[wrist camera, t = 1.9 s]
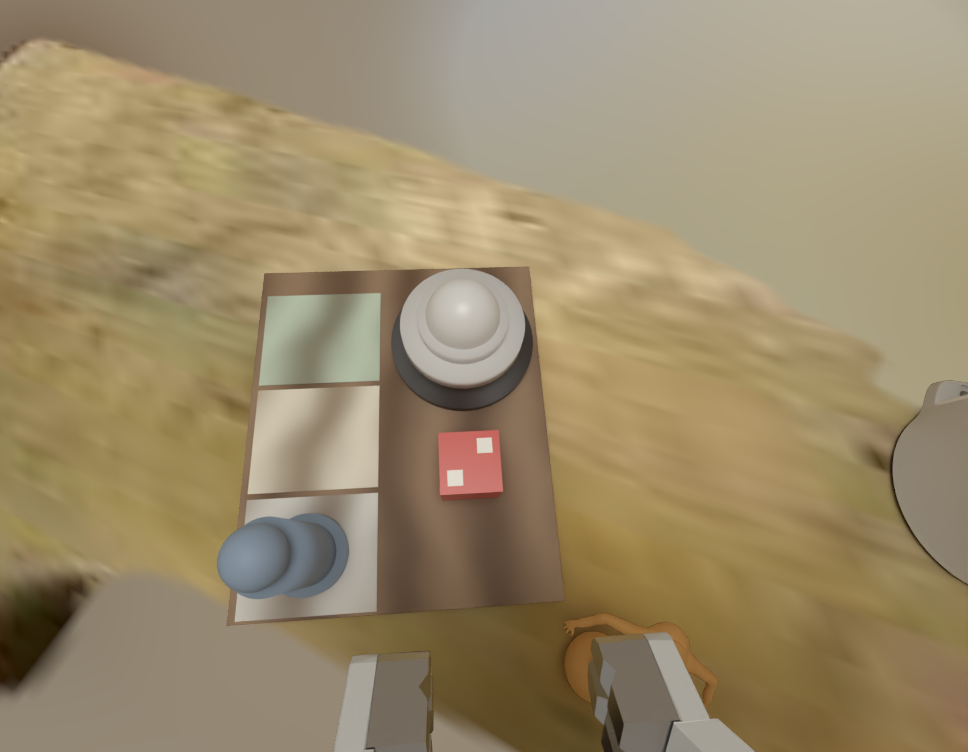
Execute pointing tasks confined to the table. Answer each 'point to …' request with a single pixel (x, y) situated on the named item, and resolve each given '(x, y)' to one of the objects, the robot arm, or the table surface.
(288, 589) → the pawn
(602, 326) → the table surface
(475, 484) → the red die
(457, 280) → the dome
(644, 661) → the robot arm
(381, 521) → the game board
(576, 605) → the table surface
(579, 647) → the figurine
